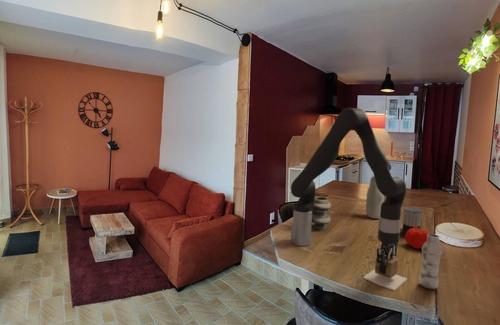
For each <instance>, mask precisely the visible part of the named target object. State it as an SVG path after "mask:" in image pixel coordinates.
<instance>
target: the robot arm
mask: <svg viewBox="0 0 500 325" xmlns="http://www.w3.org/2000/svg"><path fill="white" fill-rule="evenodd" d="M350 131H354V132H355V133H356V134H357V136H358V137H359V139H360V141H361V143H362V150H363V156H364V159H365V161H366V162H367V165H368V166H369V168H370V169H371V172H372V174H373V176H374V178H375V181H376V185H377V187H378V189H379V191H380V192H381V193H382V194H383V195H384V197H386V198H385V199H384V202H383V203H382V204H381V210H380V218H378V219H379V220H378V231H377V239H378V241H379V242H381V244H380V248H376V258H377V263H379V264H380V266H379V272H380V273H382V274H385V273H386V263H387V260H388V259H389V257H390V256H391V257H394V258H396V257H397V253H398V245H399V243H400V236H401V229H400V228H401V215H402V206H403V203H404V200H405V196H406V193H407V184H406V182H405V181H404V179H403V178H401V177H399V176H392V174H391V169H392V165H391V162H390V160H389V159H388V158H387V156H386V154H385V153H384V151H383V149H382V148H381V145H380V144H379V142H378V140H377V138H376V135H375V133H374V130H373V128H372V126H371V123H370V120H369V117H368V115H367V113H366V111H365V110H364V109H361V108H357V107H356V108H355V107H346V108H344V109H342V110H341V111H340V112H339V114H338V115H337V117H336V119H335V120H334V122H333V124H332V126H331V128H330V130H329V131H328V133H327V135H326V136H325V137H324V139H323V141H321V144H319V146H318V147H317V149H316V150H315V152H314V154H313V155H312V156H311V158H310V159H309V161H308V163H306V165H305V166H304V168H303V169H302V171H301V172H300V173H299V174H298V175H297V177H295V179H293V181H292V183H291V186H290V192H291V194H292V196H293V197H295V198H299V199H298V200H297V201H295V203H293V218H292V223H291V226H290V228H291V229H290V230H291V231H290V242H292V244H294V245H295V246H299V247H308V246H310V245H311V244H312V240H311V239H312V228H311V226H312V225H313V224H312V223H313V222H312V208H313V205H314V201H315V197H316V183H315V181H314V180H315V179H316V178H317V177H319V176H320V175H322V174H324V172H326V171H327V170H328V169H329V168H330V167H331V166H332V165H333V163H334V162H335V161H336V159H337V157H338V156H339V153H340V152H339V151H340V147H341V144H342V141H343V140H344V138H346V136H347V135H348V133H349V132H350ZM385 255H387V256H385ZM379 258H380V259H379Z"/></svg>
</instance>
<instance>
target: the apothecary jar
mask: <svg viewBox="0 0 500 325" xmlns="http://www.w3.org/2000/svg"><path fill="white" fill-rule="evenodd" d="M331 207H332V204H331V202H330V201H329V198H328V197H327V196H318V195H317V196H315V201H314V205H313V208H312V223H313V224H312V226H311V230H314V231H320V232H323V231H324V232H325V231H328V230H329V227H328V226H327V224H329V223H330V222H331V219H332V218H331V216H330V214H329V212H330V208H331Z"/></svg>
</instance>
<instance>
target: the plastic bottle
mask: <svg viewBox="0 0 500 325" xmlns="http://www.w3.org/2000/svg"><path fill="white" fill-rule="evenodd" d="M439 238H440V236H439V235H438V234H433V233H429V234H428V235H427V241H426V242H425V243H424V244H423V246H422V249H421V256H422V257H421V267H420V272H419V275H418V282H419V284H420V285H421V286H422V287H424V288H425V289H429V290H435V289H437V288H438V286H439V285H440V284H439V282H440V281H439V278H440V277H439V267H440V261H441V257H442V254H443V249H442V247H441V245H440V244H439V242H440V239H439Z"/></svg>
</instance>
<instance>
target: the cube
mask: <svg viewBox="0 0 500 325" xmlns="http://www.w3.org/2000/svg"><path fill="white" fill-rule="evenodd" d="M385 256H387V255H385ZM394 257H395V256H394ZM394 257H391V256H390V257H389V259H388V260H387V263H386V273H385V274H382V273H380V272H379V266H380V264H379V263H377V257H376V258H375V265H374V266H375V267H374V269H375V273H377V274H379V275H382V276H385V277H387V278H390V279H391V278H392V277H393V276H395V275H398V267H399V266H398V264H399V258H396V257H395V258H394ZM379 259H380V258H379Z"/></svg>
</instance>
